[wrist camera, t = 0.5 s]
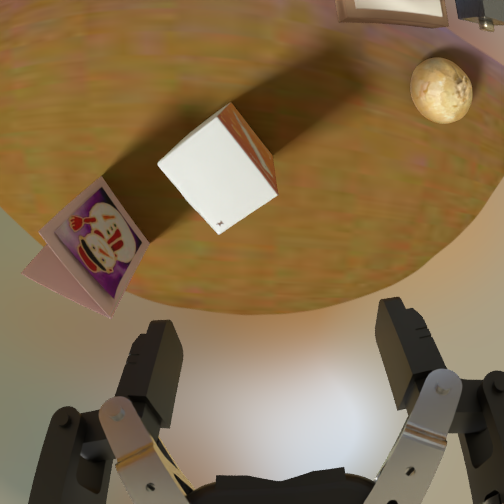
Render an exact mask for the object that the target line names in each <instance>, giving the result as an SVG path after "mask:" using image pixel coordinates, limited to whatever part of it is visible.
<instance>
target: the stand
mask: <svg viewBox="0 0 504 504" xmlns="http://www.w3.org/2000/svg"><path fill="white" fill-rule="evenodd" d="M335 4H336V10H337V16H338V22H357V23H383V24H397V25H408V26H417V27H425V28H439V27H448V26H449V25H448V18H447V12H446V6H445V0H335Z"/></svg>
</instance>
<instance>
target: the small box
mask: <svg viewBox="0 0 504 504" xmlns="http://www.w3.org/2000/svg"><path fill="white" fill-rule="evenodd" d="M158 166H159V168H160V169H161V170H162V171H163V172H164V174H165V175H166V176H167V177H168V178H169V180H170V181H171V182H172V183H173V184H174V185H175V187H176V188H177V189H178V190H179V191H180V192H181V194H182V195H183V196H184V198H185V199H186V200H187V201H188V202H189V204H190V205H191V206H192V207H193V208H194V209H195V210H196V211H197V212H198V213H199V214H200V215H201V216H202V217H203V218H204V219H205V220H206V222H207V223H208V224H209V225H210V226H211V227H212V228H213V229H214V230H215V232H216V233H217V234H219V235H220V234H221V233H222V232H224V231H225V230H227V229H228V228H230V227H231V226H232V225H234V224H235V223H237V222H238V221H240V220H241V219H243V218H244V217H246V216H247V215H249V214H250V213H252V212H253V211H255V210H256V209H258V208H259V207H261V206H262V205H264V204H265V203H267V202H268V201H270V200H271V199H273V198H275V197H276V196H278V190H277V184H276V176H275V169H274V162H273V155H272V154H271V153H270V151H269V150H268V149H267V148H266V146H265V145H264V144H263V143H262V141H261V140H260V139H259V138H258V136H257V135H256V134H255V132H254V131H253V130H252V129H251V127H250V126H249V125H248V123H247V122H246V121H245V119H244V118H243V117H242V116H241V114H240V113H239V112H238V110H237V109H236V108H235V107H234V105H233V104H232V103H231V102H230V103H228V104H227V105H226V106H224V107H223V108H222V109H220V110H219V111H217V112H216V113H215V114H213V115H212V116H211V117H209V118H208V119H207V120H206V121H204V122H203V123H202V124H200V125H199V126H198V127H196V128H195V129H194V130H193V131H191V132H190V133H189V134H188V135H187V136H185V137H184V138H183V139H182V140H181V141H180V142H179V143H178V144H177V145H176V146H175V147H174V148H173V149H171V150H170V151H169V152H168V153H167V154H166V155H165V156H164V157H163V158H162V159H161V160H160V161H158Z"/></svg>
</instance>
